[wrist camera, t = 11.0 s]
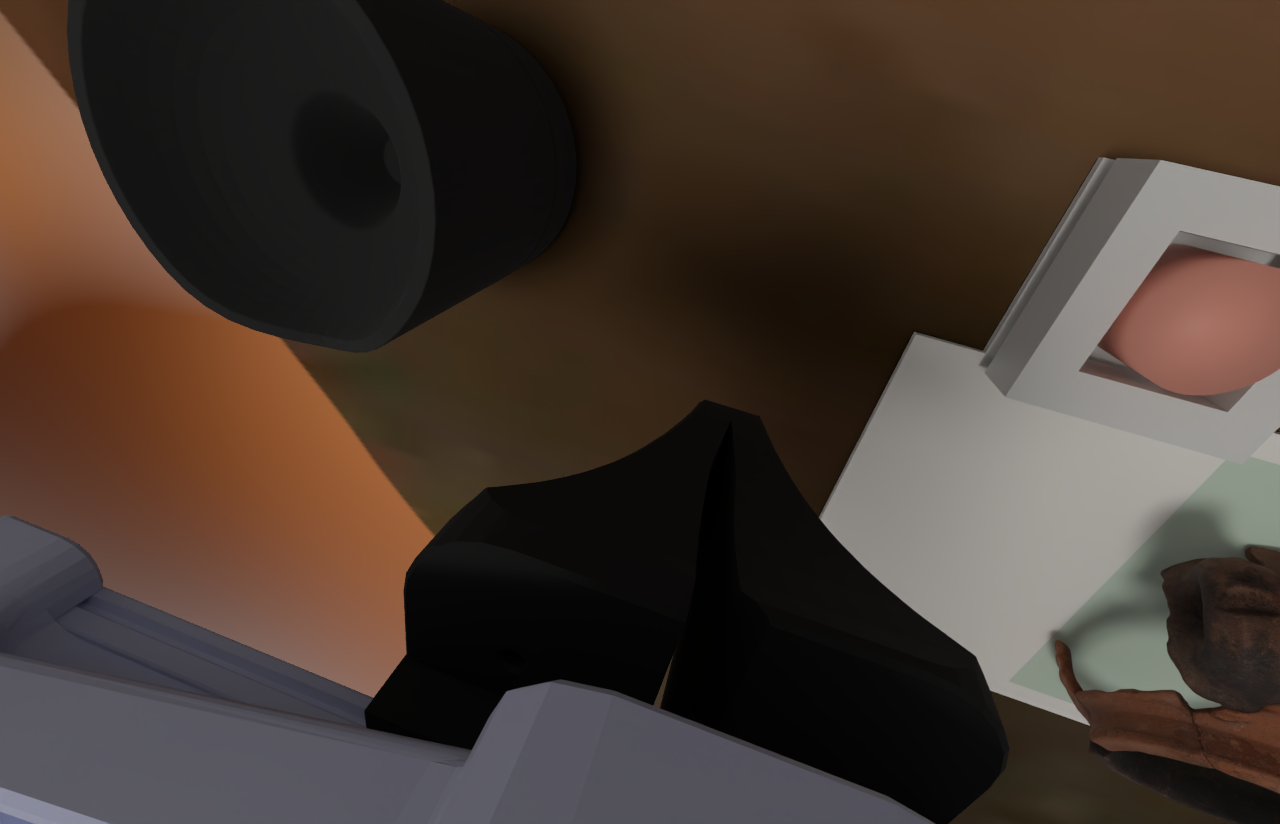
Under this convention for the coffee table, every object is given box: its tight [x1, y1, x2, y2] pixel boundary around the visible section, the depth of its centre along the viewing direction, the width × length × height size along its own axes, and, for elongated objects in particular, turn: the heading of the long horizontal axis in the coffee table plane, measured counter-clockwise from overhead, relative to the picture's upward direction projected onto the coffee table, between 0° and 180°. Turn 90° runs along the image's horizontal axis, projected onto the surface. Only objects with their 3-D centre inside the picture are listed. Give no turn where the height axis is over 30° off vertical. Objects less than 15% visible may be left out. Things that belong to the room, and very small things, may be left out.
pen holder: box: [67, 0, 577, 352], centre depth 16 cm, size 9×9×10 cm
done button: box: [1097, 244, 1280, 395], centre depth 15 cm, size 4×4×3 cm
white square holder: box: [979, 157, 1280, 464], centre depth 15 cm, size 7×7×3 cm
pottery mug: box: [1055, 547, 1280, 824], centre depth 19 cm, size 12×10×8 cm
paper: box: [819, 332, 1280, 725], centre depth 21 cm, size 16×26×1 cm, turn 78°
